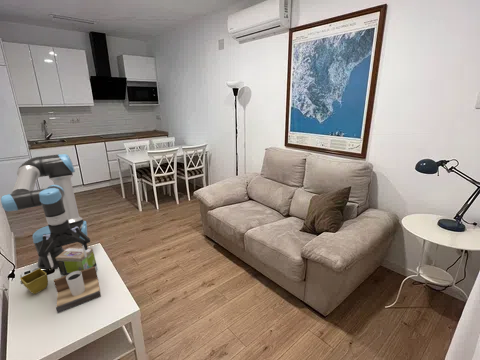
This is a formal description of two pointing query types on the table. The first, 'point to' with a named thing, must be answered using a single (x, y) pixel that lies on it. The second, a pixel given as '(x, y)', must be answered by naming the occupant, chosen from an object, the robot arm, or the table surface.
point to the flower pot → (35, 281)
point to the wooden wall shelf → (69, 301)
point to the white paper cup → (75, 283)
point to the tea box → (75, 260)
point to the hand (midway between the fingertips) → (69, 260)
